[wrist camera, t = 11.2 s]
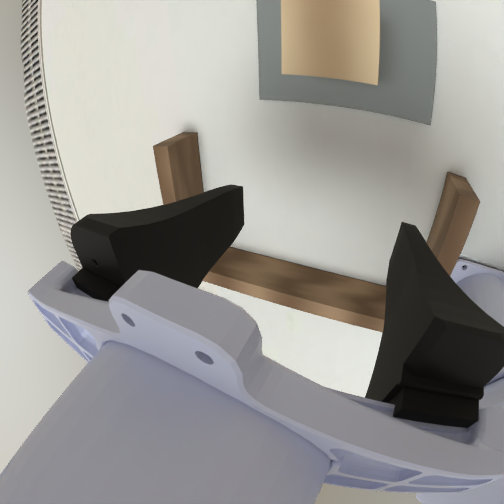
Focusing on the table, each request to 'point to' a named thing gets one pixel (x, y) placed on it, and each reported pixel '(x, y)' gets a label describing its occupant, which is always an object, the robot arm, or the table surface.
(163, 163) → the wooden u-shaped frame
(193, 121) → the table surface
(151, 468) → the robot arm
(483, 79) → the table surface
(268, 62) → the slate mat
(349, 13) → the oak block
